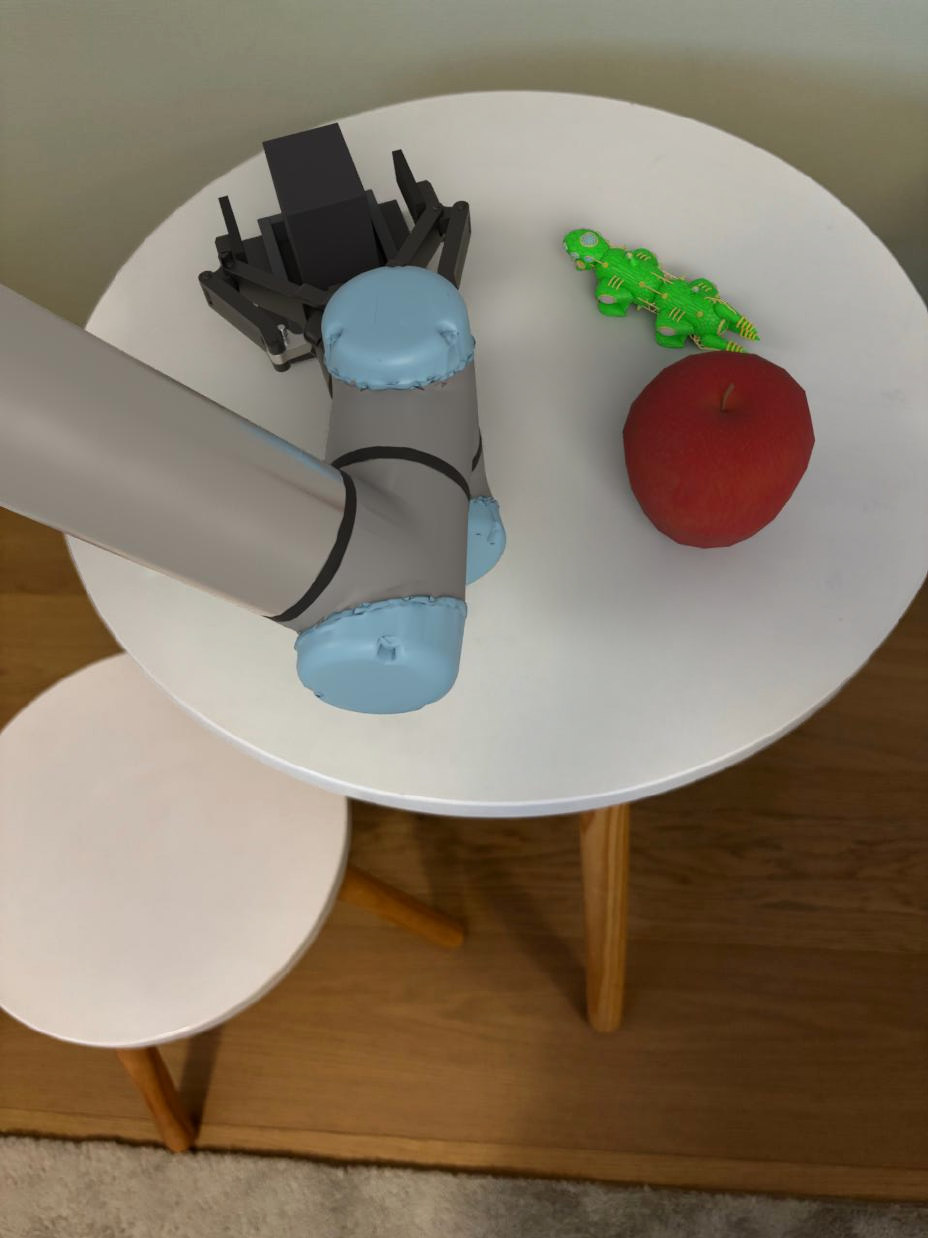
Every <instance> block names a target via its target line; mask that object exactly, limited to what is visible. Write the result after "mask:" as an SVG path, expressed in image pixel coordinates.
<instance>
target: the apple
mask: <svg viewBox="0 0 928 1238" xmlns="http://www.w3.org/2000/svg"><path fill="white" fill-rule="evenodd" d="M621 433H622V443H623V451H624V452H623V454H624V463H625V467H626V472H627V477H628V482H629V486H630V489H631V491H632V494H633V495H634V497H635V499H636V501H637V502H638V504H639V507H640V508H641V510H642V512H643V514H644V515H645V516H646V518H648V520H649V521H650V523H652V525H653V526H654V527H655V528H656V530H657V531H658V532H660V533H662V534H663V535H664V536H665V537H667V538H669V539H670V540H671V541H673V542H674V543H676V544H678V545H681V546H687V547H692V548H693V547H694V548H698V549H718V548H729V547H732V546H734V545H736V544H739V543H741V542H744V541H746V540H748V539H750V538H752V537H754V536H755V535H756V534H758V533H759V532H760V531H761V530H763V529H764V528H765V527H767V526H768V525H769V524H771V523H772V522H773V521H775V519H776V518H777V517H778V515H779V514H780V512H781V511H782V510H783V509H784V507H785V506H786V505H787V503H788V502H789V500H790V499H791V498H792V496H793V494H794V493H795V491H796V489H797V487H798V486H799V485H800V482H801V481H802V480H803V479H802V478H803V477H804V475H805V474H806V471H808V468H809V463H810V461H811V457H812V453H813V450H814V446H815V442H816V436H815V431H814V425H813V420H812V414H811V411H810V406H809V401H808V397H807V393H806V390H805V389H804V387H802V386H801V385H800V383H799V382H798V381H797V380H796V379H795V378H794V377H793V376H792V375H791V374H790V373H789V371H787V369H785V368H784V367H782V366H780V365H778V364H776V363H774V362H772V361H770V360H768V359H766V358H764V357H762V356H760V355H759V354H756V353H749V352H748V353H742V352H734V351H726V350H718V351H715V350H711V351H706V352H699V353H692V354H689V355H687V356H685V357H683V358H681V359H680V360H677V361H675V362H673V363H671V364H670V365H668V366H666V367H664V368H663V369H661V370H660V372H659V373H657V374H656V375H655V376H654V377H653V378H652V380H650V381H649V382H648V383H647V384H646V385H645V386H644V388H643V389H642V390H641V391H640V392H639V394H638V395H637V397H636V398H635V399H634V400H633V401H632V403H631V404H630V408H629V410H628V413H627V417H626V419H625V422H624V425H623V428H622V432H621Z"/></svg>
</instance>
